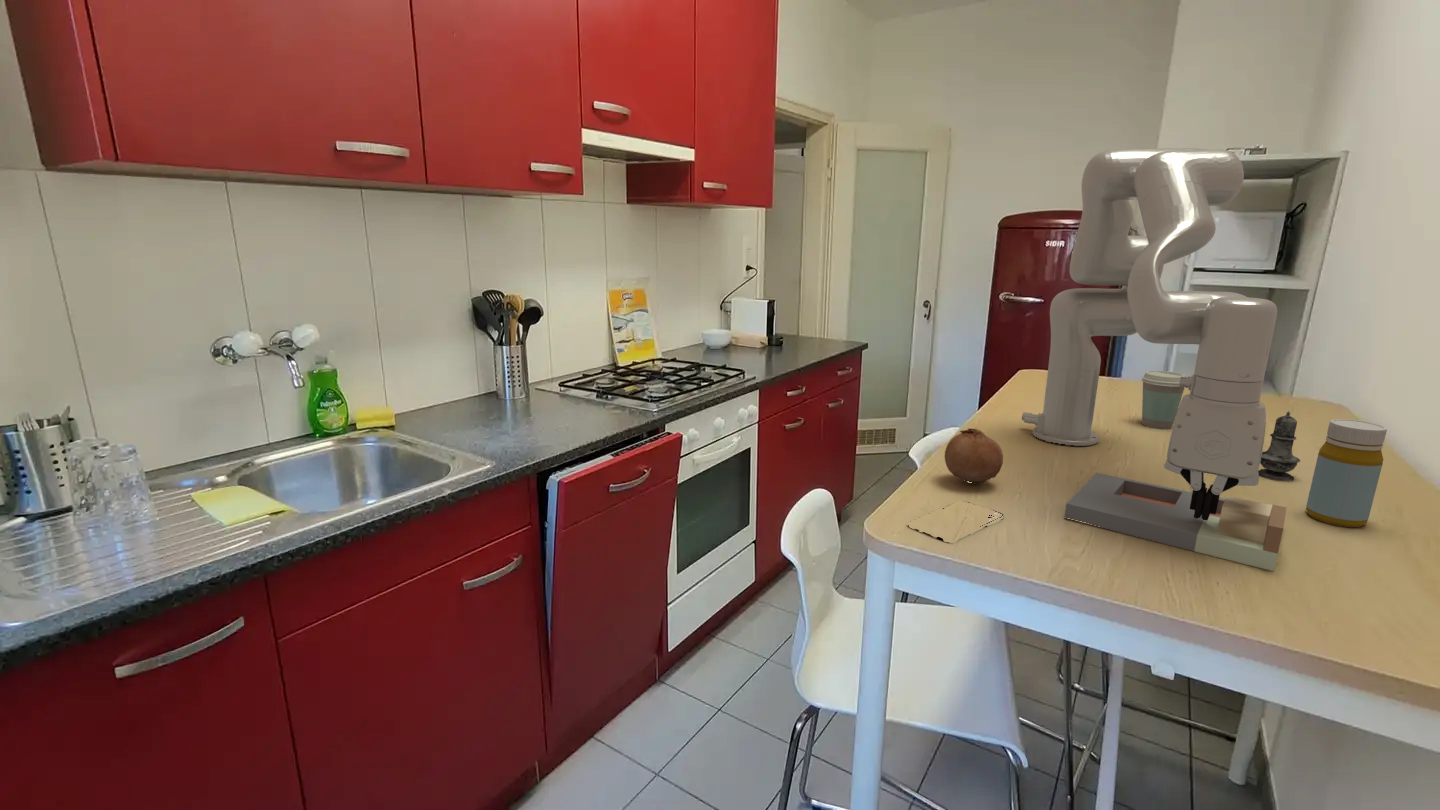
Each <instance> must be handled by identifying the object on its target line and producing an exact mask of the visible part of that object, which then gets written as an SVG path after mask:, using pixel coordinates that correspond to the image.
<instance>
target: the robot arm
mask: <svg viewBox="0 0 1440 810" xmlns="http://www.w3.org/2000/svg"><path fill="white" fill-rule="evenodd" d="M1244 174H1245V172H1244V166H1243V163H1242V161H1241V160H1240V158H1239V157H1238V156H1237V154H1235V153H1234V152H1233V151H1230V150H1228V149H1209V148H1189V147H1188V148H1187V147H1186V148H1183V147H1181V148H1180V147H1178V148H1177V147H1175V148H1174V147H1173V148H1169V147H1167V148H1166V147H1165V148H1118V149H1110V150H1106V151H1101V152H1099V153H1097V154H1095V155H1093V157H1091V159H1089V161H1088V162H1087V164H1086V166H1085V168H1084V171H1083V174H1082V179H1081V198H1082V200H1081V201H1082V211H1081V212H1082V213H1081V218H1080V221H1079V226H1078V228H1077V233H1076V238H1075V242H1074V246H1073V250H1072V253H1071V257H1070V258H1071V259H1070V263H1069V276H1070V278H1071V280H1072V281H1074V282H1075V283H1077V284H1081V285H1086V286H1087V285H1088V286H1108V287H1109V286H1115V287H1116V286H1117V287H1118V286H1121V288H1098V287H1096V288H1095V287H1094V288H1093V287H1091V288H1090V287H1085V288H1083V287H1081V288H1080V287H1078V288H1070V289H1065V290H1063V291H1061V292H1059V293H1057V294H1056V295H1055V296H1054V297H1053V299H1052V300H1051V303H1050V306H1049V307H1050V308H1049V323H1050V347H1049V359H1048V366H1047V367H1048V369H1047V377H1046V384H1045V385H1046V386H1045V392H1044V400H1043V401H1044V402H1043V410H1042V413H1037V414H1035V413H1032V412H1025V411H1023V412H1022V415H1021V421H1023V422H1024V423H1027V424H1032V425H1035V427H1033V429H1032V435H1033V437H1034V438H1036V437H1037V438H1036V439H1038V438H1039V440H1041V439H1042V440H1041V441H1043V440H1045V441H1044V442H1048V443H1051V442H1053V443H1052V444H1055V443H1058V444H1057V445H1061V444H1065V445H1064V446H1070V445H1074V446H1075V447H1086V446H1087V447H1088V446H1093V445H1096V444H1097V443H1099V441H1100V436H1099V434H1098V433H1096V432H1094V431H1092V429H1093V421H1094V414H1095V407H1096V406H1095V405H1096V399H1097V393H1098V386H1099V378H1100V377H1099V376H1100V371H1101V363H1102V358H1101V354H1100V351H1099V349H1098V348H1097V347H1096V345H1095V343H1094V342H1093V340H1092V337H1099V336H1101V337H1102V336H1104V337H1121V336H1122V337H1124V336H1125V337H1127V336H1132V335H1135V334H1138V335H1139V336H1140V338H1141V339H1143V340H1144V341H1146V342H1148V343H1152V344H1157V345H1158V344H1161V345H1198V351H1197V354H1196V359H1195V360H1196V361H1195V366H1194V373H1193V374H1192V375H1191V376H1185V377H1181V378H1180V383H1179V386H1184V387H1185V389H1188V391H1189V393H1187V394H1185V395H1182V398H1181V401H1180V404H1179V407H1178V410H1177V414H1176V417H1175V420H1174V423H1173V426H1172V428H1171V429H1172V430H1171V433H1170V438H1169V442H1168V447H1167V453H1166V454H1167V455H1166V461H1165V462H1164V464H1163V467H1164V469H1165V470H1167V471H1169V472H1172V473H1174V474H1176V475H1177V474H1178V475H1181V477H1182V478H1183V479H1184V480H1185V481H1186V482H1187V483H1188V484H1189V486H1190V488H1191V490H1192V492H1193V493H1192V498H1191V504H1190V509H1192V510H1195V513H1194V518H1197V519H1198V518H1200V517H1201V515H1202V517H1201V518H1202V519H1203V520H1206V521H1207V520H1208V518H1209V516H1210V514H1216V511H1217V506H1218V501H1219V498H1220V496H1221V494H1222V493H1225V491H1228V490H1230V489H1232V488H1234V487H1236V486H1237V487H1238V486H1241V487H1244V486H1245V487H1256V486H1258V485H1259V484H1260V483H1259V482H1260V475H1259V474H1258V470H1260V465H1261V464H1260V462H1261V457H1262V452H1263V451H1264V450H1263V449H1264V445H1265V444H1264V443H1265V436H1266V435H1265V434H1266V427H1267V425H1266V424H1267V411H1266V410H1267V408H1266V405H1265V403H1264V402H1260V401H1261V396H1262V391H1263V386H1264V379H1265V376H1266V372H1267V371H1266V370H1267V366H1268V362H1269V356H1270V350H1271V346H1272V341H1273V337H1274V332H1275V326H1276V322H1277V318H1278V308H1277V305H1276V303H1274V302H1273V301H1271V300H1270V299H1267V298H1266V299H1265V298H1260V297H1247V296H1246V295H1243V294H1242V293H1237V292H1233V291H1232V292H1231V291H1205V290H1204V291H1203V290H1199V291H1197V290H1195V291H1194V290H1189V291H1188V290H1185V291H1184V290H1183V291H1182V290H1168V291H1166V290H1164V289H1163V288H1164V287H1163V286H1162V283H1161V278H1162V274H1163V271H1164V266H1165V265H1166V264H1168V263H1172V262H1174V261H1176V260H1179V259H1181V258H1184V257H1187V256H1189V255H1191V254H1193V253H1195V252H1197V251H1199V250H1200V249H1203V248H1204V247H1205V246H1206V245H1207V244H1209V242H1210V241H1212V239H1213V237H1214V236H1215V233H1216V231H1217V230H1216V229H1217V228H1216V222H1215V220H1214V217H1213V214H1212V211H1211V206H1212V207H1215V206H1216V207H1218V206H1223V205H1226V204H1228V203H1230V202H1231V201H1233V200H1234V199H1235V197H1237V195H1239V193H1240V191H1241V189H1242V187H1243V184H1244V177H1245V175H1244ZM1130 200H1132V201H1137V204H1138V207H1139V212H1140V215H1141V218H1142V224H1143V227H1144V230H1145V234H1146V235H1129V232H1130V229H1131V226H1132V223H1133V220H1134V218H1133V217H1134V210H1133V207H1132V204H1131V203H1130ZM1074 446H1073V447H1074ZM1205 473H1206V474H1210V475H1215V479H1214V481H1213V483H1211V484H1210V485H1209V487H1207V486H1206V485H1207V484H1206V483H1205Z"/></svg>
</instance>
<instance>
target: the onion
mask: <svg viewBox="0 0 1440 810" xmlns="http://www.w3.org/2000/svg"><path fill="white" fill-rule="evenodd" d="M944 463H945V466H946V468H947V470H948V471H949V472H950V473H951V474H952V475H953V476H954V477H956V478H958V479H960V480H962V481H964V480H965V481H964V482H966V481H969V482H972V483H979V484H983V483H986V482H987V481H989V480H991V479H995V478H996V477H997V475H998V474H999V473H1000V472H1001V469H1002V466H1003V464H1004V453H1003V450H1002V448H1001V446H1000V444H998V442H997V441H996V440H994V439H993V438H991V437H989V436H987V434H985V432H983V431H981V430H980V429H977V428H969V427H968V428H966V429H964V430H963V429H962V430H959V434H957V435H954V437H952V438H951V439H950V440H949V441H948V443H947V445H946V448H945V450H944Z"/></svg>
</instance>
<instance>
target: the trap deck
mask: <svg viewBox="0 0 1440 810" xmlns="http://www.w3.org/2000/svg"><path fill="white" fill-rule="evenodd" d="M1192 493H1193V491H1188V490H1185V489H1184V490H1183V489H1177V488H1172V487H1169V486H1163V485H1159V484H1154V483H1149V482H1144V481H1139V480H1135V479H1131V478H1125V477H1124V478H1123V477H1119V476H1115V475H1111V474H1105V473H1100V472H1095V473H1094V474H1093V476H1091V477H1090V479H1088V481H1087V482H1086V483H1085V484H1083V486H1082V487H1081V488H1080V489H1079V490H1078V491H1077V492H1076V493H1075V494H1074V495H1073V497H1071V499H1069V500H1068V501H1067V503H1066V505H1065V512H1064V518H1065V517H1066V518H1070V519H1074V520H1078V521H1082V522H1086V523H1089V524H1092V525H1096V526H1100V527H1103V528H1106V529H1105V530H1107V529H1110V530H1109V531H1111V530H1113V531H1112V532H1115V531H1117V532H1116V533H1119V532H1121V533H1120V534H1123V533H1124V534H1123V535H1127V534H1129V535H1128V536H1131V535H1132V537H1135V536H1136V537H1135V538H1139V537H1140V539H1143V538H1144V540H1147V539H1148V541H1151V540H1152V542H1155V541H1156V543H1159V544H1164V545H1168V546H1172V547H1176V548H1178V549H1184V550H1187V551H1192V552H1195V553H1199V554H1203V555H1207V556H1210V557H1215V558H1218V559H1219V558H1220V559H1223V560H1227V561H1230V562H1235V563H1238V564H1243V565H1247V566H1250V567H1255V568H1259V569H1262V570H1263V569H1264V570H1266V571H1271V572H1275V567H1276V563H1277V559H1278V555H1279V549H1280V545H1281V541H1282V536H1283V532H1284V526H1285V520H1286V519H1285V518H1286V515H1287V506H1282V505H1276V504H1271V505H1272V509H1271V514H1270V519H1269V523H1268V528H1267V532H1266V536H1265V540H1264V544H1259V543H1255V542H1251V541H1247V540H1243V539H1238V538H1234V537H1230V536H1226V535H1221V534H1217V531H1218V526H1219V521H1220V516H1221V511H1222V506H1223V504H1224V501H1225V499H1226V498H1223V497H1222V498H1221V497H1219V501H1218V506H1217V511H1216V514H1210V516H1209V518H1208V520H1207V521H1206V520H1203V519H1202V518H1201V517H1202V515H1201V517H1200V518H1198V519H1197V518H1194V513H1195V510H1192V509H1190V504H1191V498H1192ZM1103 528H1102V529H1103Z"/></svg>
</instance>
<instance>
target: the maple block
mask: <svg viewBox="0 0 1440 810" xmlns="http://www.w3.org/2000/svg"><path fill="white" fill-rule="evenodd" d="M1224 499H1225V501H1224V504H1223V506H1222V511H1221V516H1220V521H1219V526H1218V531H1217V534H1221V535H1226V536H1230V537H1234V538H1238V539H1243V540H1247V541H1251V542H1255V543H1259V544H1264V540H1265V536H1266V532H1267V528H1268V523H1269V519H1270V514H1271V509H1272V505H1273V504H1269V503H1263V502H1258V501H1254V500H1250V499H1243V498H1238V497H1235V496H1230V495H1226V496H1225V498H1224Z"/></svg>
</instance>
